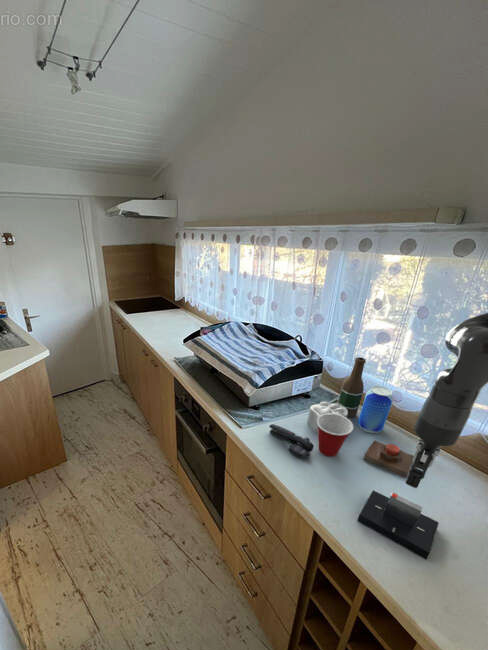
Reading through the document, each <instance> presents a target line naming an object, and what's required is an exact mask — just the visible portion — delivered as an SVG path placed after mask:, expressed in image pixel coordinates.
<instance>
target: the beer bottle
mask: <svg viewBox="0 0 488 650" xmlns="http://www.w3.org/2000/svg"><path fill="white" fill-rule="evenodd" d="M366 362H367V361H366V358H364V357H359V356H358V357H355V359H354V364H353V367H352V369H351V373H350V374H349V376H348V377H347V378H346V379H345V380H344V381H343V382H342V385H341V389H340V393H339V396H338V400H337V404H338V405H340V406H342V407H344V408H346V409H347V411H348V415H347V419H352V418H355V417H357V414H358V410H359V407H360V405H361V401H362V397H363V394H364V390H365V389H364V381H363V379H362V378H363V372H364V368H365V364H366Z"/></svg>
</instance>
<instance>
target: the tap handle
mask: <svg viewBox="0 0 488 650" xmlns="http://www.w3.org/2000/svg"><path fill="white" fill-rule="evenodd" d="M388 498H389V501H388V503H387V505H386V508H385V510H384V513H386V514H387V515H389V516H391V517H393V518H395V519H397V520H399V521H401V522H403V523H405V524H407V525H409V526H410V527H412V528H413V527H414V525H415V523H416V521H417V519H418V517H419V515H420V513H421V514H422V511H423V510H424V509H423V508H424V507H423V506H421V505H420V504H418V503H415V502H413V501H411V500H409V499H407V498H404V497H402V496H401V495H398V493H395V492H391V494H390V496H389V497H388Z"/></svg>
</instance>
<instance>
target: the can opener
mask: <svg viewBox="0 0 488 650" xmlns="http://www.w3.org/2000/svg"><path fill="white" fill-rule="evenodd" d="M269 428H270V430H269V433H270V434H271V435H273V436H274V437H276V438H278V439H280V440H282V441H284V442H287V443H289V447H288V448H287V450H288V451H289V453H291V454H292V455H293V456H296V457H297V458H300V459H306V458H308V457H309V456H310V453H311V452H312V451H313V450H314V447H315V446H314V444H313V442H311V439H310V437H308V436H305V437H303V436H301V435H299V434H298V433H295V432H293V431H291V430H289V429H287V428H285V427H283V426H280V425H277V424H275V423H271V424H270V425H269Z"/></svg>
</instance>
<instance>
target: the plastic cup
mask: <svg viewBox="0 0 488 650" xmlns="http://www.w3.org/2000/svg"><path fill="white" fill-rule="evenodd" d="M317 425H318V429H319V432H318V434H317V435H318V440H317V441H318V451H319V453H320V454H321V455H323V456H325V457H329V458H334V457H336V456H337V455H338V453H339V452H340V449H341V448H342V446H343V445H344V443H345V441H346V440H347V438H348V436H349V435H350V433H352V432H353V430H354V424H353V422H352V421H351V420H350V418H345V417H344V416H341V415H338V414H331V413H328V414H322V415H320V416H319V417H318V418H317Z"/></svg>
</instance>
